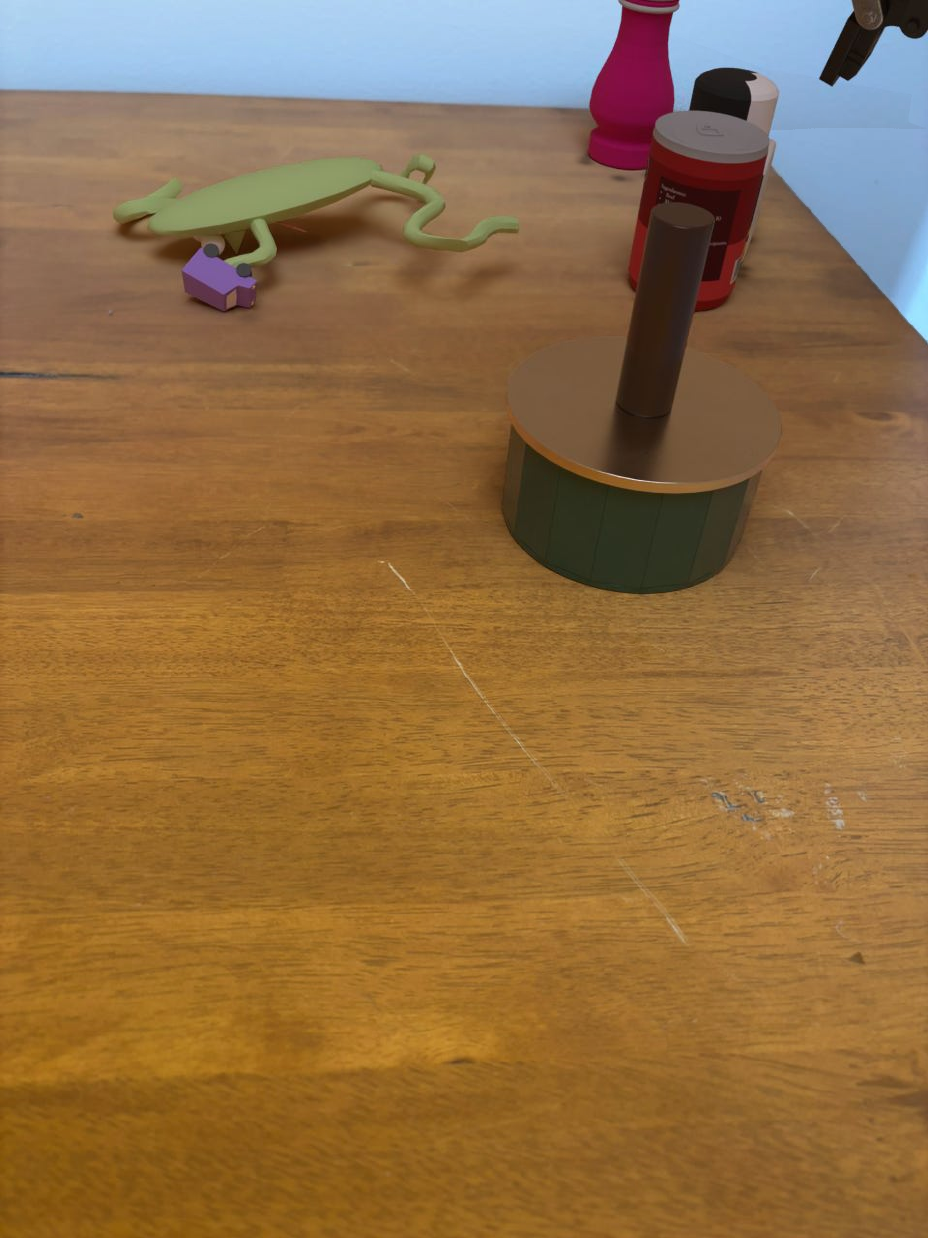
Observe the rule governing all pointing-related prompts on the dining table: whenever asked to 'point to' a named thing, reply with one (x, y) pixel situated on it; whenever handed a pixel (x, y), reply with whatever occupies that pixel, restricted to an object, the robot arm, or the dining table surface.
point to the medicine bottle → (740, 110)
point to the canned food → (705, 188)
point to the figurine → (283, 217)
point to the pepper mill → (633, 85)
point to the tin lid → (649, 385)
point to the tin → (620, 526)
